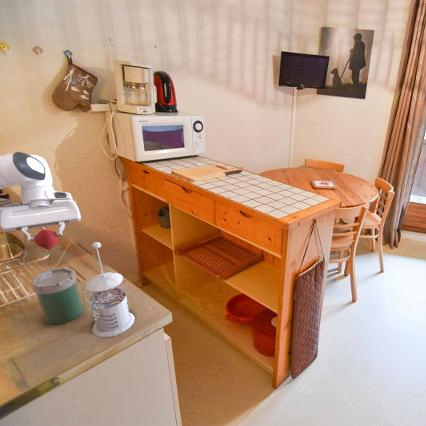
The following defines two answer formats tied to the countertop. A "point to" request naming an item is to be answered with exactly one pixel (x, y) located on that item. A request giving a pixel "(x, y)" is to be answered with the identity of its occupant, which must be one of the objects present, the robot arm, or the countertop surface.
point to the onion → (46, 239)
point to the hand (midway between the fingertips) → (46, 238)
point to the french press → (108, 303)
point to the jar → (58, 295)
